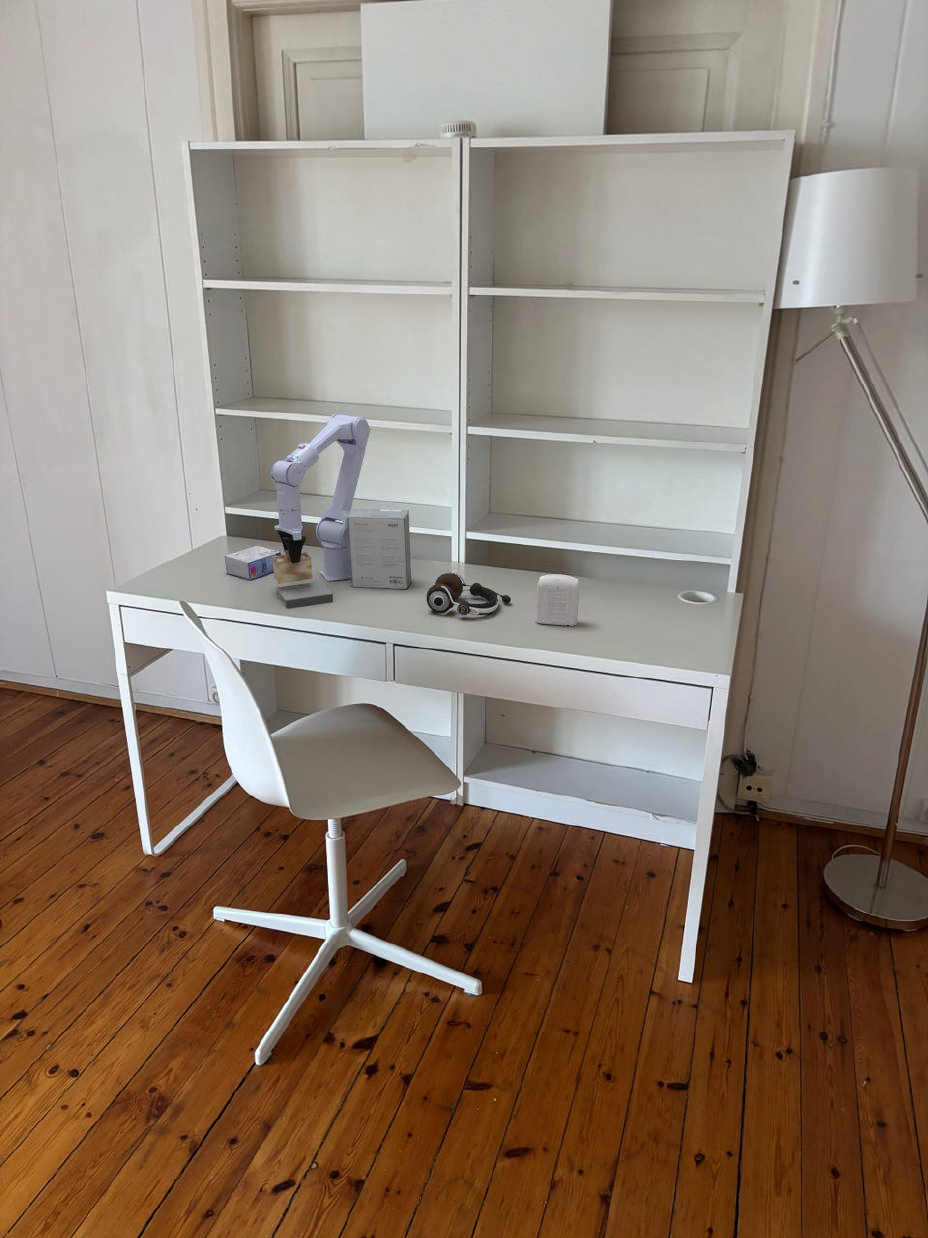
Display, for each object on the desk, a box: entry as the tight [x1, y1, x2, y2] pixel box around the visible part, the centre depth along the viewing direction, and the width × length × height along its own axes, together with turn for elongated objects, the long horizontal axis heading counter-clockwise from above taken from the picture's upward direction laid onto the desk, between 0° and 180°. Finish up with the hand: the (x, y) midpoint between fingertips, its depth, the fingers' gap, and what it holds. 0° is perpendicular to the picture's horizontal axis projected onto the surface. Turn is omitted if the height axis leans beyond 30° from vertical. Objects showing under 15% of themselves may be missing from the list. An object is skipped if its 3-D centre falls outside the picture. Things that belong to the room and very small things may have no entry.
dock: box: [276, 581, 334, 609], centre depth 234 cm, size 12×11×2 cm
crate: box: [282, 550, 290, 560], centre depth 234 cm, size 3×3×2 cm
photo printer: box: [534, 573, 581, 627], centre depth 218 cm, size 10×4×12 cm, turn 81°
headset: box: [426, 571, 512, 616], centre depth 228 cm, size 17×8×20 cm
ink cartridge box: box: [224, 545, 282, 581], centre depth 253 cm, size 10×6×14 cm
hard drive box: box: [347, 508, 412, 590], centre depth 241 cm, size 16×8×20 cm, turn 84°
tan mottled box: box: [272, 551, 314, 585], centre depth 235 cm, size 9×5×6 cm, turn 113°
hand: (292, 559), depth 234 cm, fingers closed on tan mottled box, 5 cm apart
